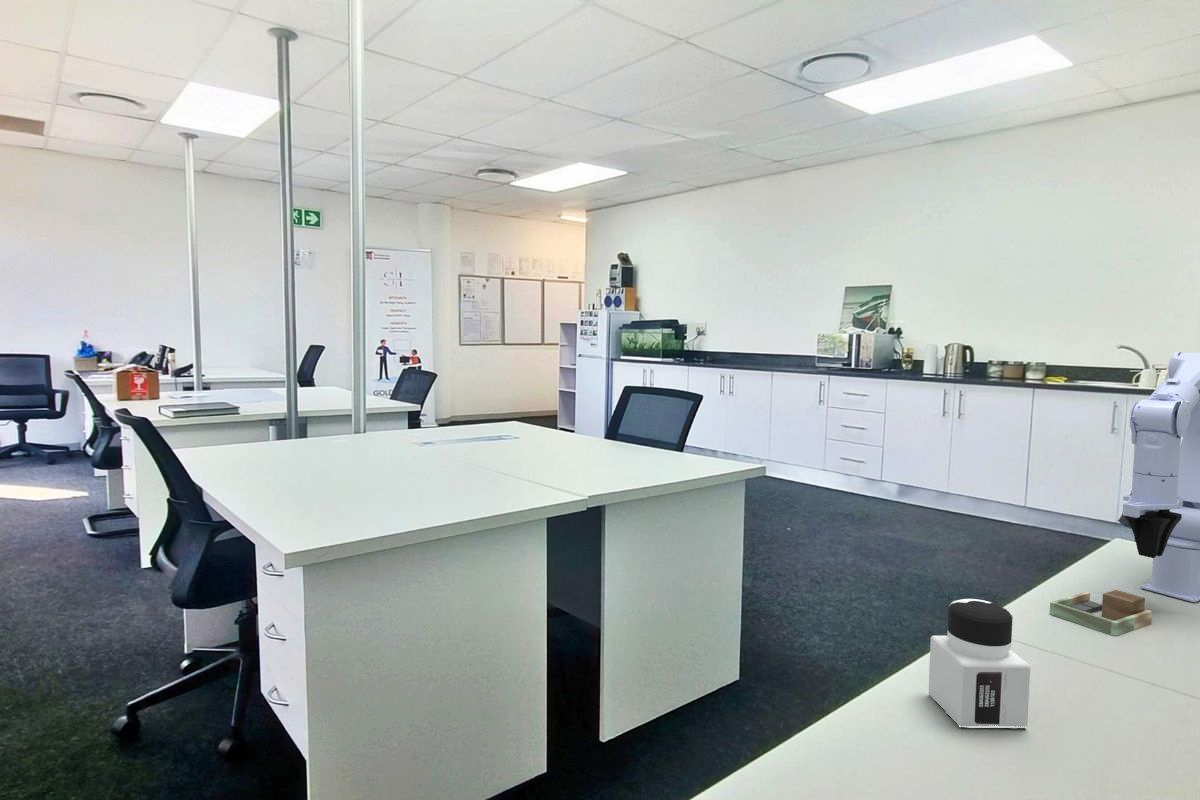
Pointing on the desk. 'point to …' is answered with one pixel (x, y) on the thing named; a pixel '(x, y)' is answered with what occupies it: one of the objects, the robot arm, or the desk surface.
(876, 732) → the desk surface
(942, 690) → the container
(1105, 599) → the block
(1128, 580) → the desk surface
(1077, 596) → the green beige u-shaped frame
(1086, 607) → the tiles
